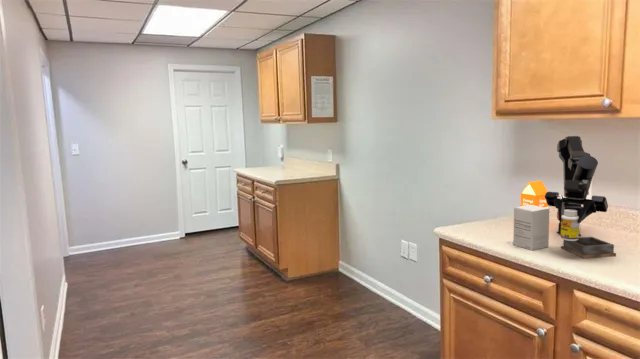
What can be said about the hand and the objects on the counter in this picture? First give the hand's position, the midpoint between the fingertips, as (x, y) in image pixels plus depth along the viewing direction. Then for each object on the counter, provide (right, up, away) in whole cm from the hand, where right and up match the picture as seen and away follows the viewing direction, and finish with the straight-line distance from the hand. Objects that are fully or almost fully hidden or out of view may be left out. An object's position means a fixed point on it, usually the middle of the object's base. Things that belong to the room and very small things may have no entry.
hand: (569, 221), depth 151 cm
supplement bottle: (+1, -7, +2) cm, 7 cm away
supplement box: (-5, -11, +18) cm, 22 cm away
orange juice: (+11, -7, +49) cm, 50 cm away
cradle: (+11, -12, +8) cm, 18 cm away
